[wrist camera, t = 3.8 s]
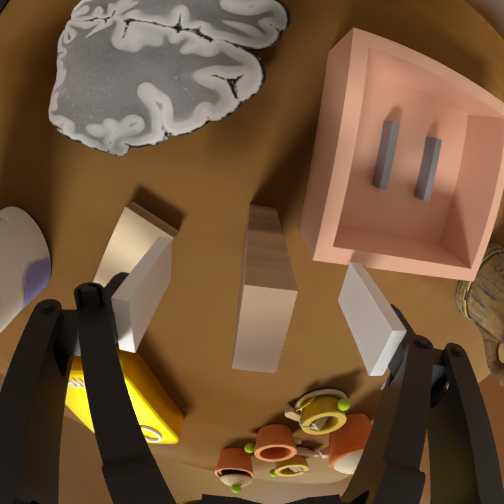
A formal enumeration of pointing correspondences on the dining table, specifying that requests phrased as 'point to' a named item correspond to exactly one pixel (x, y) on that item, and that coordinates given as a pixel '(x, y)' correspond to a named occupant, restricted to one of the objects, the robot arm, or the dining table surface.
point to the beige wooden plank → (131, 241)
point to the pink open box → (402, 163)
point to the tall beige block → (263, 293)
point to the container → (20, 262)
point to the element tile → (132, 399)
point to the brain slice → (158, 67)
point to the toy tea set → (283, 443)
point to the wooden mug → (487, 305)
